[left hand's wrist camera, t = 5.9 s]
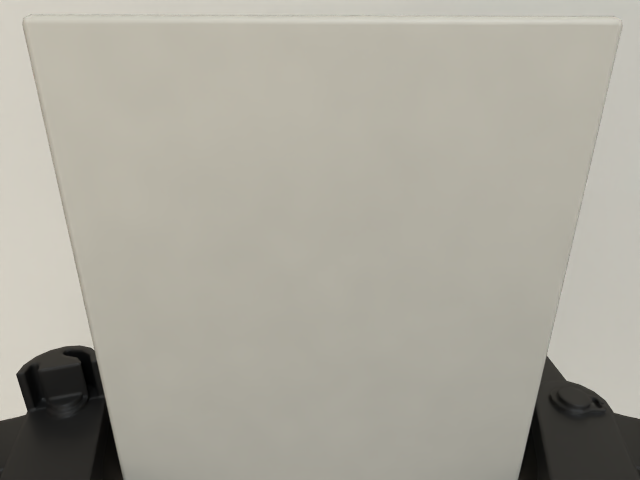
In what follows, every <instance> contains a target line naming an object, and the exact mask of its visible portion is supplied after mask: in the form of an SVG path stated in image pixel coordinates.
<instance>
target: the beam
mask: <svg viewBox="0 0 640 480" xmlns="http://www.w3.org/2000/svg"><path fill="white" fill-rule="evenodd" d="M22 25H23V29H24V34H25V38H26V43H27V47H28V52H29V56H30V61H31V65H32V70H33V74H34V79H35V83H36V88H37V92H38V97H39V101H40V106H41V110H42V115H43V119H44V124H45V128H46V133H47V137H48V142H49V146H50V151H51V155H52V160H53V164H54V169H55V173H56V178H57V182H58V187H59V192H60V196H61V201H62V205H63V210H64V214H65V219H66V223H67V228H68V232H69V237H70V241H71V246H72V250H73V255H74V259H75V264H76V268H77V273H78V277H79V282H80V286H81V291H82V295H83V300H84V304H85V309H86V313H87V318H88V322H89V327H90V331H91V336H92V340H93V345H94V349H95V354H96V358H97V363H98V367H99V372H100V376H101V381H102V385H103V390H104V394H105V399H106V403H107V408H108V412H109V417H110V422H111V426H112V431H113V435H114V440H115V444H116V449H117V453H118V458H119V462H120V467H121V471H122V476H123V480H518V477H519V473H520V469H521V464H522V460H523V456H524V451H525V447H526V442H527V438H528V434H529V429H530V425H531V421H532V416H533V412H534V408H535V403H536V399H537V395H538V390H539V386H540V382H541V377H542V373H543V369H544V364H545V360H546V356H547V351H548V347H549V343H550V338H551V334H552V330H553V325H554V321H555V317H556V312H557V308H558V304H559V299H560V295H561V290H562V286H563V282H564V277H565V273H566V269H567V264H568V260H569V256H570V251H571V247H572V243H573V238H574V234H575V230H576V225H577V221H578V217H579V212H580V208H581V204H582V199H583V195H584V191H585V186H586V182H587V178H588V173H589V169H590V165H591V160H592V156H593V152H594V147H595V143H596V138H597V134H598V130H599V125H600V121H601V117H602V112H603V108H604V104H605V99H606V95H607V91H608V86H609V82H610V78H611V73H612V69H613V65H614V60H615V56H616V52H617V47H618V43H619V39H620V34H621V30H622V20H620V19H618V18H616V17H614V16H308V15H29V16H27V17H25V18H23V24H22Z"/></svg>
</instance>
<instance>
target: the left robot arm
mask: <svg viewBox="0 0 640 480" xmlns="http://www.w3.org/2000/svg"><path fill="white" fill-rule="evenodd" d="M16 375H17V379H18V382H19V385H20V388H21V391H22V395H23V398H24V401H25V404H26V408H27V411H28V412H27V414H26V415H24V416H20V417H16V418H12V419H7V420H2V421H0V480H123V476H122V471H121V467H120V462H119V458H118V453H117V449H116V444H115V440H114V435H113V431H112V426H111V422H110V417H109V412H108V408H107V403H106V399H105V394H104V390H103V385H102V381H101V376H100V372H99V367H98V363H97V358H96V354H95V351H94V350H93V349H92V348H89V347H85V346H66V347H62V348H58V349H54V350H50V351H48V352H46V353H43V354H41V355H39V356H36V357H35V358H33V359H32V360H30V361H29V362H28V363H26V364H25V365H23V367H22V368H21V369H20V370H19V371H18V373H17V374H16ZM518 480H640V419H637V418H632V417H628V416H623V415H620V414H616V413H613V411H612V409H611V408H610V406H609V405H608V404H607V402H606V401H605V400H604V399H603V398H601V397H600V396H599V395H598V394H596V393H595V392H594V391H592V390H590V389H588V388H586V387H584V386H582V385H579V384H576V383H572V382H569V381H566V380H565V378H564V377H563V376H562V374H561V373H560V372H559V371H558V369H557V368H556V367H555V366H554V364H553V363H552V362H551V360H550V359H549V358H548V357H547V356H546V360H545V364H544V369H543V373H542V377H541V382H540V386H539V390H538V395H537V399H536V403H535V408H534V412H533V416H532V421H531V425H530V429H529V434H528V438H527V442H526V447H525V451H524V456H523V460H522V464H521V469H520V473H519V477H518Z"/></svg>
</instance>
